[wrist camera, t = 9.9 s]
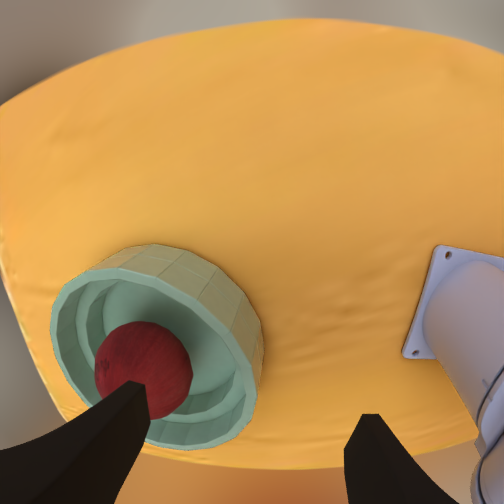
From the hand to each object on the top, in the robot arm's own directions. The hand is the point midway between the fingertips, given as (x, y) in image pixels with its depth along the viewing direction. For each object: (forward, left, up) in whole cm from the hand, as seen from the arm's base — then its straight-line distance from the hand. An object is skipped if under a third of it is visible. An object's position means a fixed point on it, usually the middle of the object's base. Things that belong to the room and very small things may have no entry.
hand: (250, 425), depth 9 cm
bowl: (+6, +4, -10) cm, 12 cm away
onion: (+7, +4, -10) cm, 12 cm away
